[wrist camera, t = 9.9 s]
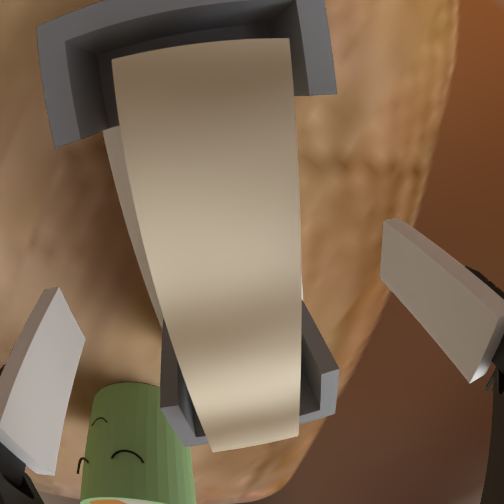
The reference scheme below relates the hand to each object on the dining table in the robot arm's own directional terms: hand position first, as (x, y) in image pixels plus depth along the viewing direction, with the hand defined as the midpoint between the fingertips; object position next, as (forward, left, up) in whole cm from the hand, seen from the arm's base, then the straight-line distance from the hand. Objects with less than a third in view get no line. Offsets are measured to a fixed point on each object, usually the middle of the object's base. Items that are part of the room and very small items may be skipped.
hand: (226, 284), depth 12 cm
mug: (+20, -13, -10) cm, 26 cm away
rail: (0, 0, -4) cm, 4 cm away
